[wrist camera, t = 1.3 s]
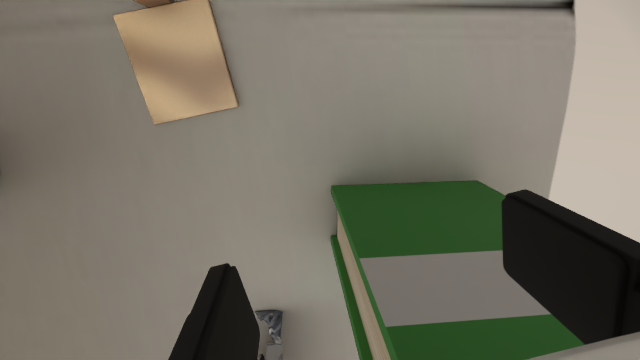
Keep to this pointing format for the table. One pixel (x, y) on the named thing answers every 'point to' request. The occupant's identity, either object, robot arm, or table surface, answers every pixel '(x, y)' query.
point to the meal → (272, 334)
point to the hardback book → (435, 276)
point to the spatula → (177, 58)
